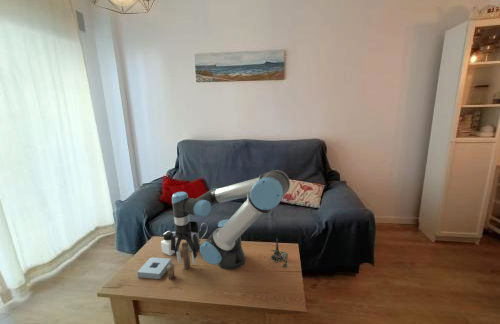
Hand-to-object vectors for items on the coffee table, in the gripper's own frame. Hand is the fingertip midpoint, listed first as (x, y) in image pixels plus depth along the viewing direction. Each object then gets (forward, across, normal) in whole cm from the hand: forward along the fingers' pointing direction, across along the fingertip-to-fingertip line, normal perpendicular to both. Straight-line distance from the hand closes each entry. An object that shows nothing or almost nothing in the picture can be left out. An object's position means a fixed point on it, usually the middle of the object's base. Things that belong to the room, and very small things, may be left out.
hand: (186, 262), depth 125 cm
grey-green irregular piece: (+4, -47, -12) cm, 49 cm away
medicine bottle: (+3, +16, -13) cm, 21 cm away
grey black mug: (+3, +2, -20) cm, 20 cm away
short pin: (+3, +5, +8) cm, 10 cm away
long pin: (+3, 0, 0) cm, 3 cm away
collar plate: (+3, +16, +4) cm, 17 cm away
